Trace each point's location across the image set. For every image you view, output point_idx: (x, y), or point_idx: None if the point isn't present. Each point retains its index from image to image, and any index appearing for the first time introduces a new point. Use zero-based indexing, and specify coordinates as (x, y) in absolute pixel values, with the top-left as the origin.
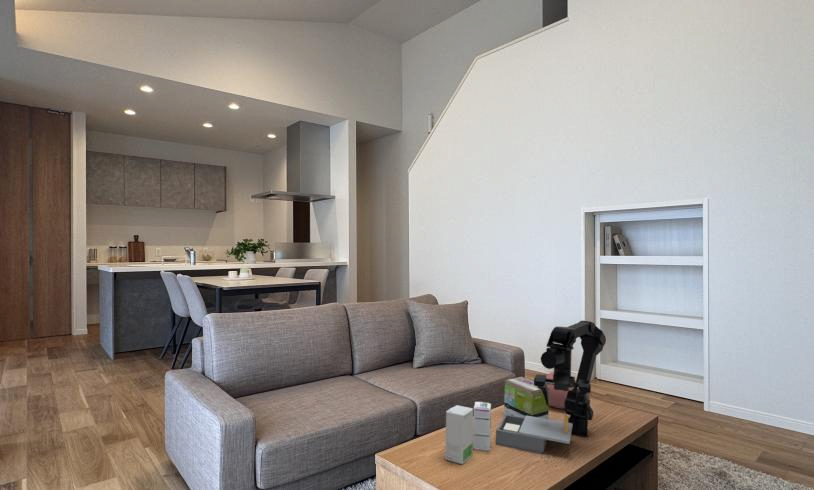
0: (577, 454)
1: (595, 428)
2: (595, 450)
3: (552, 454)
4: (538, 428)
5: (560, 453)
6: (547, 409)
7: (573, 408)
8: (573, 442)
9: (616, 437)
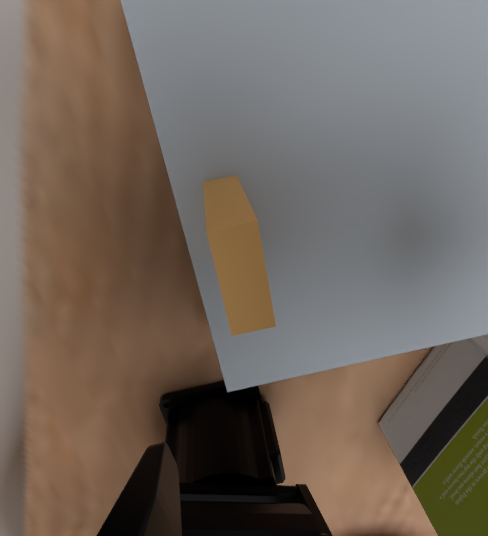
0: (121, 137)
1: None
2: (56, 273)
3: None
4: (468, 108)
5: None
6: (420, 485)
7: (251, 532)
8: None
9: (44, 477)
